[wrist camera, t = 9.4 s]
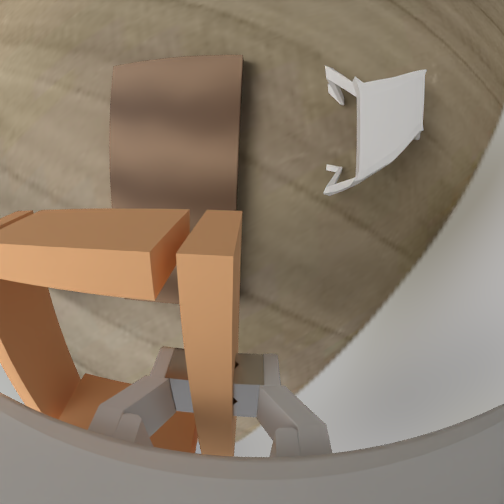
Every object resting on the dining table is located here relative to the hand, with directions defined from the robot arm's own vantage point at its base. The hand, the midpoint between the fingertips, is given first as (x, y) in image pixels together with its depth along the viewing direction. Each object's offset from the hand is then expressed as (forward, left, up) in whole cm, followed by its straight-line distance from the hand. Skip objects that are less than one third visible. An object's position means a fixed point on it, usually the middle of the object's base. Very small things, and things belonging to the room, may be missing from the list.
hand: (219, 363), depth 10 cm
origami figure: (-10, +9, -15) cm, 20 cm away
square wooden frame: (0, -5, -2) cm, 5 cm away
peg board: (-4, -5, -14) cm, 16 cm away
